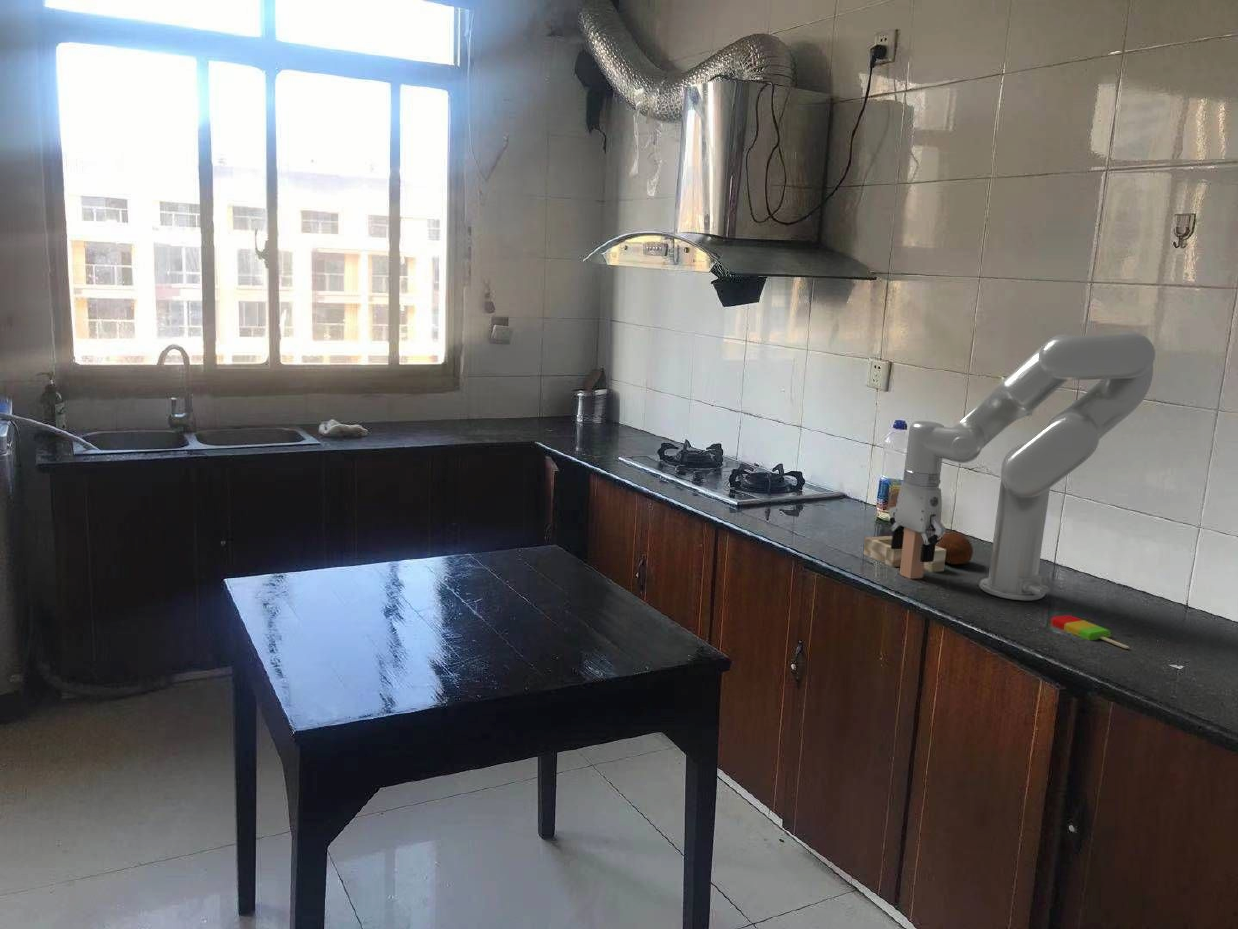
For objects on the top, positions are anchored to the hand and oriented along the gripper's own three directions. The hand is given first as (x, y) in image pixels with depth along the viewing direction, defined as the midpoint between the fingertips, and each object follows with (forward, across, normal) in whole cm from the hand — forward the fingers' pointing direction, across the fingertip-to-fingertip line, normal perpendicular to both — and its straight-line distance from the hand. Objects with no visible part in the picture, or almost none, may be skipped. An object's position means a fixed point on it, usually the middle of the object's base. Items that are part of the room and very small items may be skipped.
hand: (911, 555), depth 213 cm
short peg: (+5, +3, -9) cm, 10 cm away
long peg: (+5, 0, 0) cm, 5 cm away
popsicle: (+5, -40, -9) cm, 42 cm away
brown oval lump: (+5, +6, -17) cm, 19 cm away
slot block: (+5, +12, -5) cm, 14 cm away
